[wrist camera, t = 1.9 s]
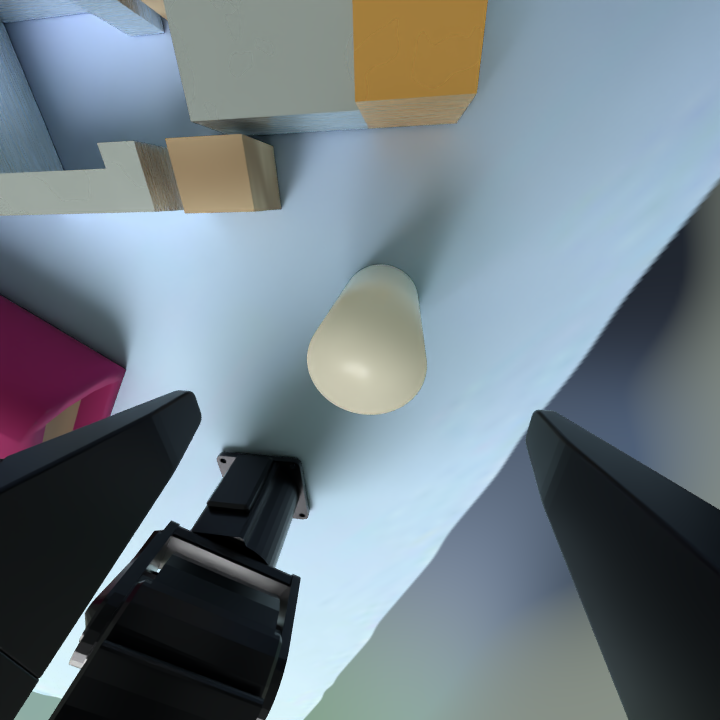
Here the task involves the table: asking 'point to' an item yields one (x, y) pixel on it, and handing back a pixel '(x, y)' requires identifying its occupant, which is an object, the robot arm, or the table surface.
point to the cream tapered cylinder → (370, 344)
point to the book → (48, 381)
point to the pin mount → (222, 168)
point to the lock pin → (326, 62)
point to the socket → (35, 148)
